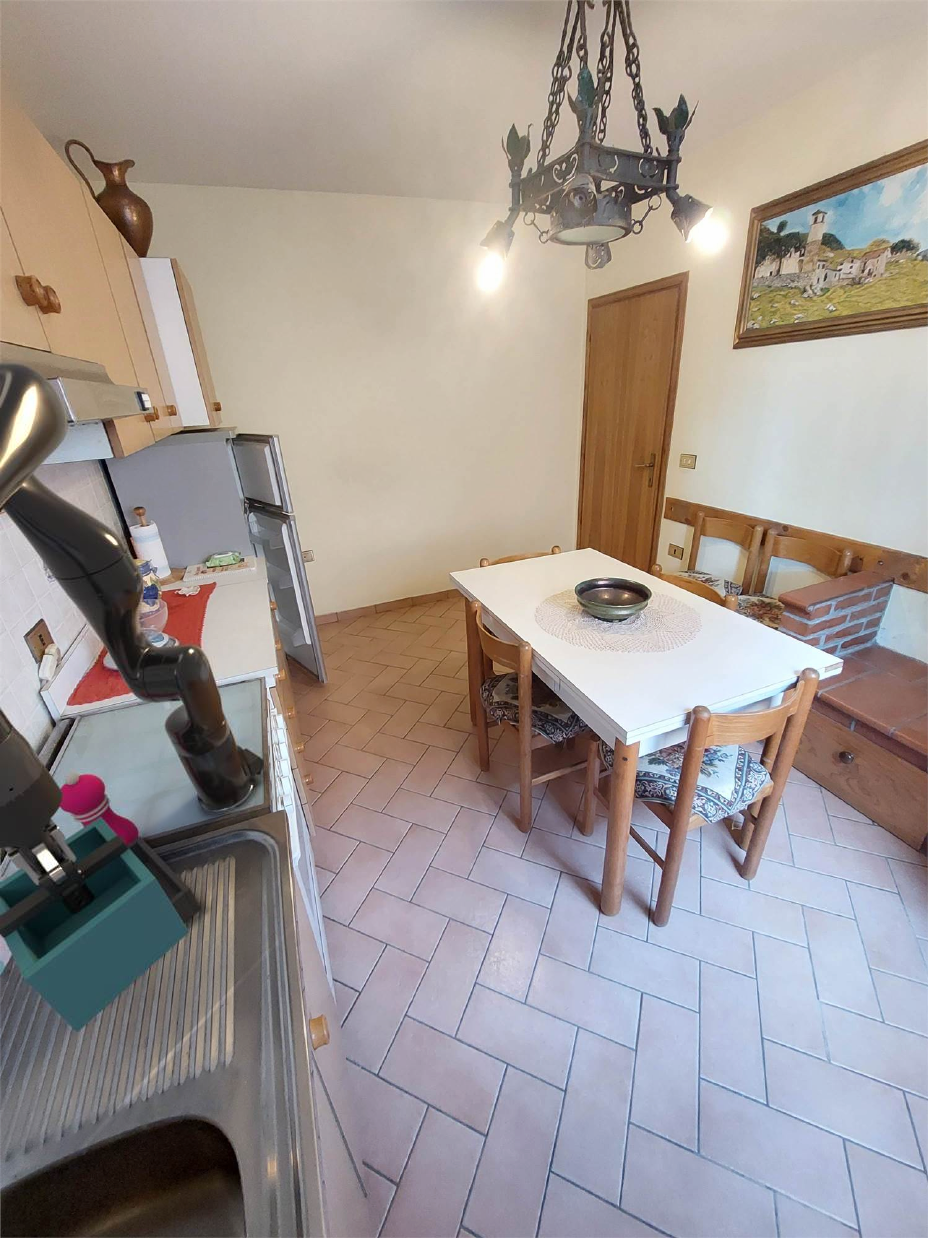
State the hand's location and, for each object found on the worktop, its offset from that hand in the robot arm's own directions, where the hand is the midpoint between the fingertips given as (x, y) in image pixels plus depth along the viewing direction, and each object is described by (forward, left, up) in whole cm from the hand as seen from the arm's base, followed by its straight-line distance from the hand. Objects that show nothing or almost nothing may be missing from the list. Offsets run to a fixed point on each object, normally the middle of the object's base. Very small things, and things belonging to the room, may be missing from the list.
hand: (79, 899), depth 53 cm
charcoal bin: (-3, -16, -24) cm, 29 cm away
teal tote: (0, 0, -8) cm, 8 cm away
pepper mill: (-7, -30, -24) cm, 39 cm away
